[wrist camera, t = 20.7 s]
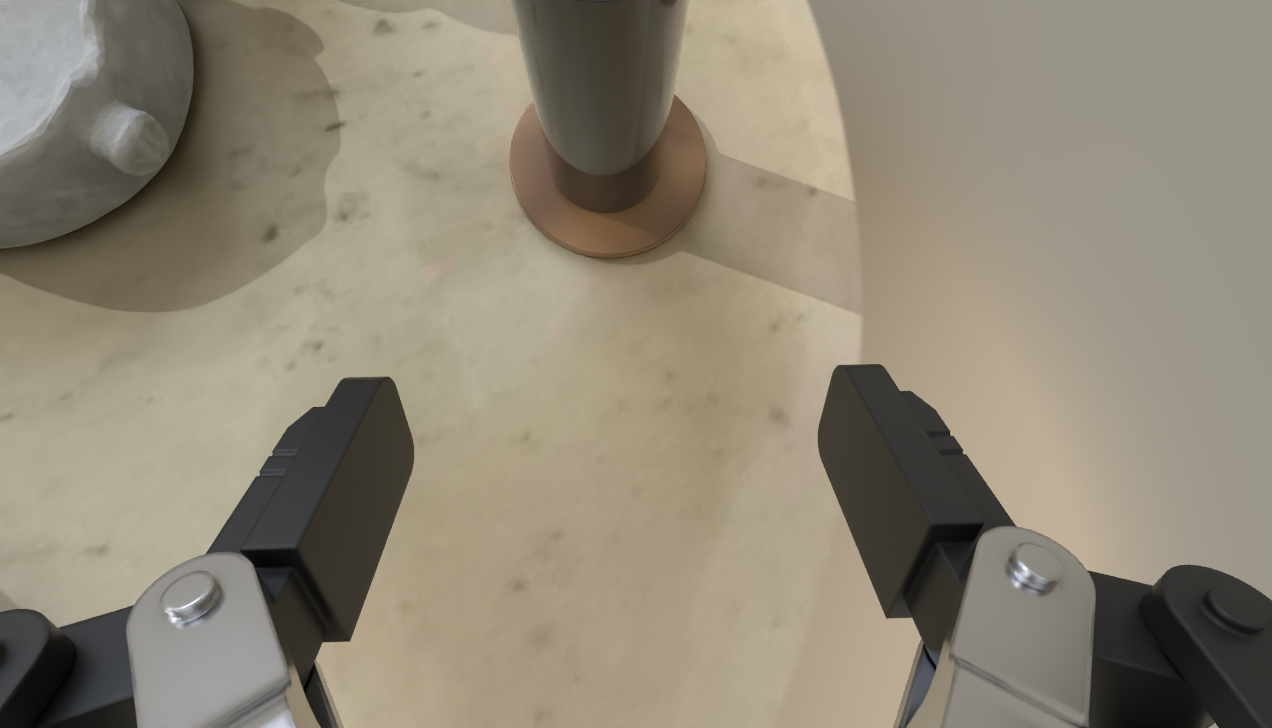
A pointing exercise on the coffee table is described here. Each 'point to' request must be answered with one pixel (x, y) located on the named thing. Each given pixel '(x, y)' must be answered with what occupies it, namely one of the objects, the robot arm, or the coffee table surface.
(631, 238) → the coaster
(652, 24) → the cylinder
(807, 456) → the coffee table surface
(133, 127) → the dish
